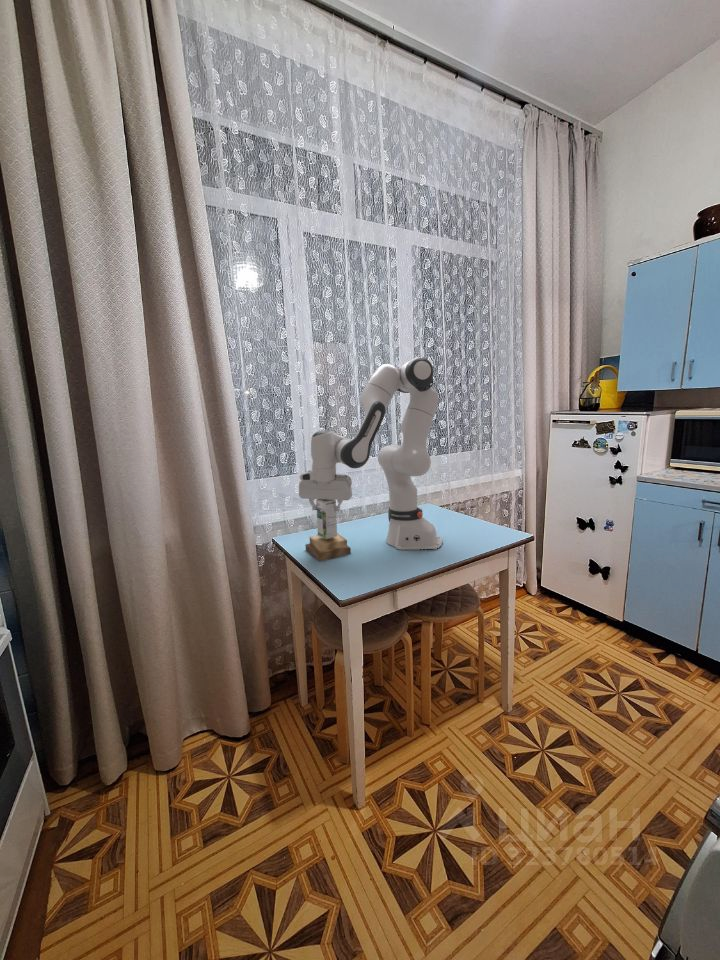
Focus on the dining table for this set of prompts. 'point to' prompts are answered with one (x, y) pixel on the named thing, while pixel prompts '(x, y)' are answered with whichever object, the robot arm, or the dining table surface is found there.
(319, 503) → the syrup box
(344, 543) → the oak top slab
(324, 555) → the walnut base slab
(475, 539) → the dining table surface
